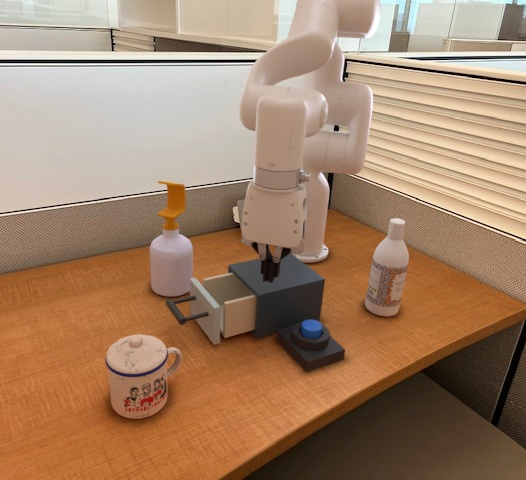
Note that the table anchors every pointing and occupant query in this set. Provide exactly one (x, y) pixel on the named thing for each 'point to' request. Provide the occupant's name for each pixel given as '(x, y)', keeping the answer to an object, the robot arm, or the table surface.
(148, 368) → the teacup with lid
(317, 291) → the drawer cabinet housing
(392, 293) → the bath foam
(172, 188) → the soap bottle
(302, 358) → the panel
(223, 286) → the drawer
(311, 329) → the button
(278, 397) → the table surface
